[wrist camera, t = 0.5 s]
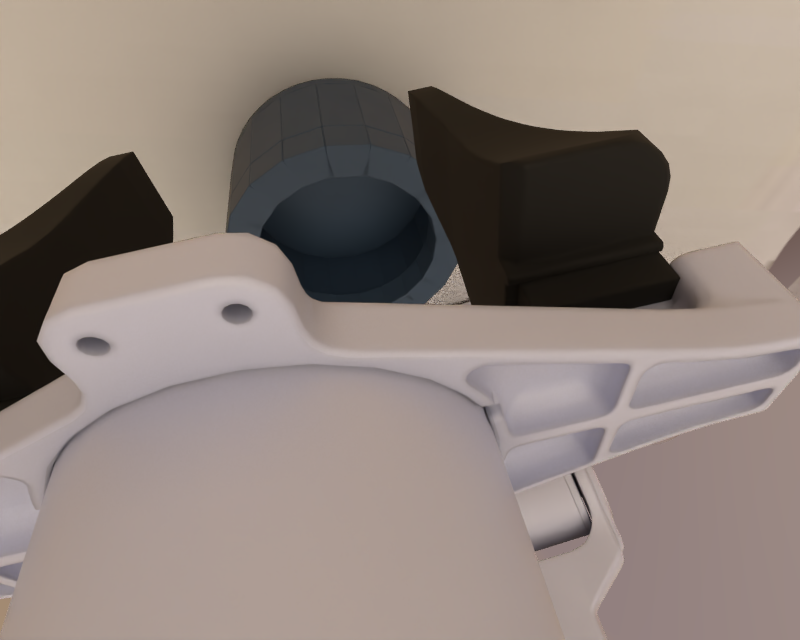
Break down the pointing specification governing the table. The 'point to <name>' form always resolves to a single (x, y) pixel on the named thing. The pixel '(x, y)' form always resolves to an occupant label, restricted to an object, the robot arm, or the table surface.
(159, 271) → the robot arm
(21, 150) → the table surface
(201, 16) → the table surface
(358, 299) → the jar
